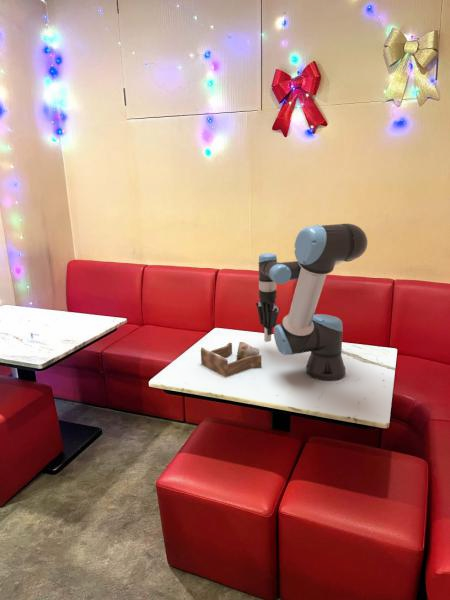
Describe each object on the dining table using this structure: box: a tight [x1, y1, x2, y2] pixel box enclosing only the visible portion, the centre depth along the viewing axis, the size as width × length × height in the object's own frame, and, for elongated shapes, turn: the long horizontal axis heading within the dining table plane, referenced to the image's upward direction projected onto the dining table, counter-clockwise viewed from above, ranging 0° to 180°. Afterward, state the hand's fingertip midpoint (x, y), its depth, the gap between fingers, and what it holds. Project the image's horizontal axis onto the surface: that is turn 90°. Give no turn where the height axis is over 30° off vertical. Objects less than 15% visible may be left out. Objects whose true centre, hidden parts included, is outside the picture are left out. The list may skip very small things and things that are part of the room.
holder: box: [200, 342, 262, 378], centre depth 177 cm, size 21×18×8 cm
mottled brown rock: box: [236, 341, 260, 360], centre depth 183 cm, size 8×10×10 cm
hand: (267, 340), depth 190 cm, fingers closed
